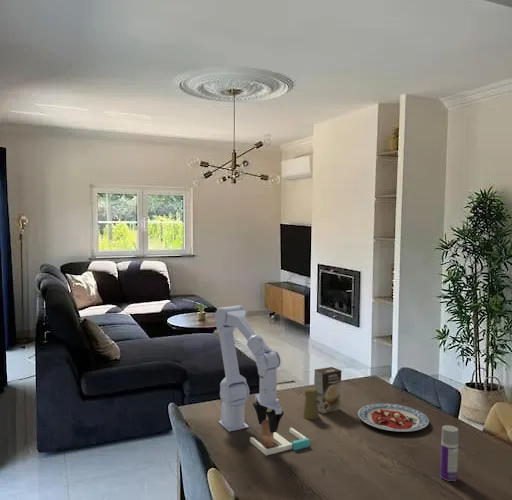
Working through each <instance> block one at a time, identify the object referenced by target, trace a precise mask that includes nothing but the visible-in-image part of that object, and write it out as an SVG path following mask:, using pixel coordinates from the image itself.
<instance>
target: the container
mask: <svg viewBox="0 0 512 500" xmlns="http://www.w3.org/2000/svg"><path fill="white" fill-rule="evenodd" d="M440 439H441V442H440V444H441V445H440V465H439V466H440V467H439V472H440V473H439V477H440V476H441V477H440V479H441V478H443V479H445V480H449V481H453V480H456V479H457V480H458V464H459V462H458V460H459V459H458V458H459V428H458V427H456V426H453V425H449V424H448V425H447V424H445V425H443V426H441V437H440ZM443 479H442V480H443ZM445 480H444V481H445Z"/></svg>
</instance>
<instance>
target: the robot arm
mask: <svg viewBox="0 0 512 500" xmlns="http://www.w3.org/2000/svg"><path fill="white" fill-rule="evenodd" d="M214 319H215V325H216V327H215V328H216V330H217V331H218V335H219V337H218V338H219V343H220V349H221V355H222V357H221V358H222V361H223V362H222V363H223V369H224V375H225V377H224V378H222V380H221V382H220V383H219V389H220V390H219V397H220V400H221V401H222V403H221V404H220V405H221V406H220V420H219V421H218V423H219V424H220V425H221V426H222V427H223V428H225V429H226V431H228V432H233V431H239V430H243V429H247V428H248V429H249V425H248V424H247V423H245V402H247V399H248V398H249V397H250V387H249V385H248V383H247V382H248V381H247V378H246V377H244V376H243V375H241V374H240V369H239V368H240V367H239V362H238V356H237V349H236V344H235V343H236V342H235V337H234V336H235V335H234V331H235V330H236V328H237V330H238V331H239V332H240V333H241V334H242V335H243V337H244V338H245V340H247V342H246V347H248V349H249V350H250V353H252V355H253V357H254V358H255V359H256V360H255V365H256V368H257V374H258V376H259V393H256V394H254V400H255V402H253V403H252V406H253V408H254V410H255V413H256V416H257V420H258V424H259V425H262V421H263V420H269V426H270V432H271V433H274V432H276V433H278V429H279V424H280V421H281V420H282V417H283V416H284V411H283V407H281V405H280V403H279V402H280V399H279V398H277V395H278V393H277V386H278V385H277V384H278V383H277V382H278V381H277V379H278V378H277V376H278V375H277V373H278V372H277V371H278V370H277V369H278V368H279V367H280V365H281V358H280V357H281V356H280V354H279V353H278V351H276V350H273V348H270V347H269V345H267V342H266V341H265V340H264V338H263V337H262V336H261V335H260V334H256V333H255V330H254V329H253V328H252V326H251V323H250V322H249V320H248V319H247V311H246V310H245V308H244V306H242V305H241V304H238V305H233V306H224V307H222V306H221V307H218V308H217V310H215V313H214ZM268 409H270V410H271V411H268Z"/></svg>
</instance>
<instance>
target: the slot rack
mask: <svg viewBox="0 0 512 500" xmlns="http://www.w3.org/2000/svg"><path fill="white" fill-rule="evenodd" d="M288 429H289V430H288V431H289V433H290V434H291V435H292V436H294V437H295V438H297V439H296V440H292V441H291V442H290V441H288V440H287V439H286V438H284V437H283V436H282V435H281V434H279V433H278V432H274V435H273V444H276V446H275V447H274V446H273V447H271V448H265V447H264V446H263V445H262V442H260V441H258V440H257V439H256V438H255V437H253V436H251V437H249V443H251V444H252V445H253V446H254V447H255V448H257V449H258V450H259V451H260V452H261V453H263V455H265V456H269V455H274V454H278V453H281V452H284V451H288V450H293V451H298V450H302V449H305V448H310V445H311V444H310V438H309V437H306V436H305V435H303V434H302V433H300V432H299V431H297V430H296V429H295V428H293V427H289V428H288Z"/></svg>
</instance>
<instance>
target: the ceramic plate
mask: <svg viewBox="0 0 512 500" xmlns="http://www.w3.org/2000/svg"><path fill="white" fill-rule="evenodd" d="M357 414H358V415H357V416H358V417H359V419H360V420H361V421H362V422H364V424H367V425H369V426H371V427H374V428H377V429H380V430H383V431H391V432H397V433H398V432H399V433H400V432H401V433H402V432H403V433H406V432H415V431H420V430H423V429H424V428H427V426H428V425H429V423H430V421H429V420H430V419H429V418H428V417H427V415H426V414H425V413H424V412H422V411H420V410H418V409H416V408H413V407H409V406H405V405H401V404H398V403H397V404H396V403H372V404H367V405H364V406H363V407H361V408H360V409H359V410H358V412H357ZM407 416H408V417H407Z"/></svg>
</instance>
